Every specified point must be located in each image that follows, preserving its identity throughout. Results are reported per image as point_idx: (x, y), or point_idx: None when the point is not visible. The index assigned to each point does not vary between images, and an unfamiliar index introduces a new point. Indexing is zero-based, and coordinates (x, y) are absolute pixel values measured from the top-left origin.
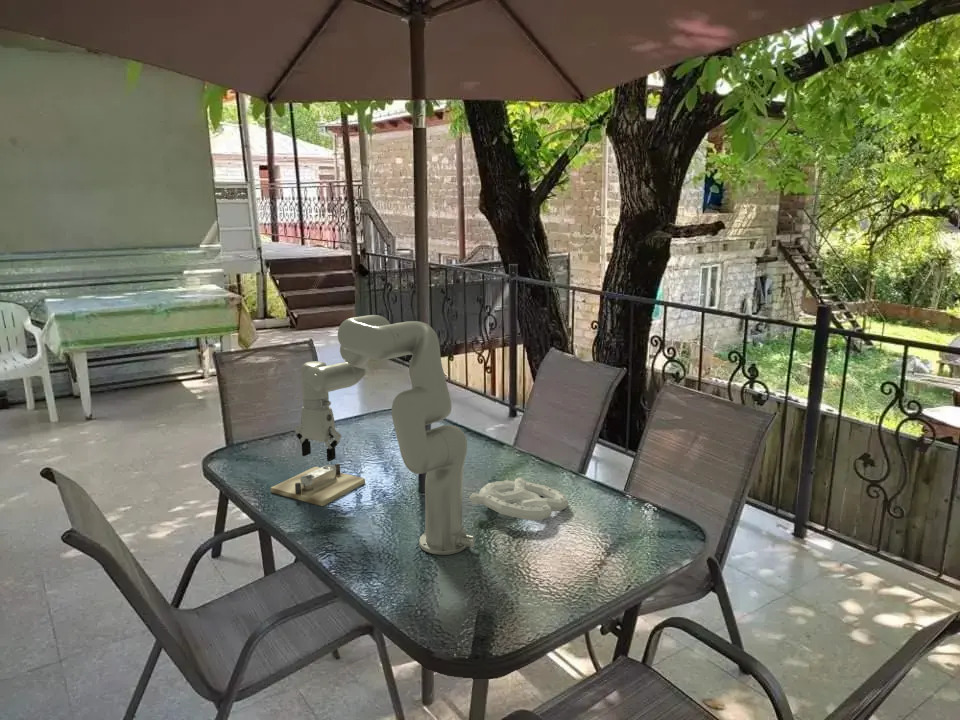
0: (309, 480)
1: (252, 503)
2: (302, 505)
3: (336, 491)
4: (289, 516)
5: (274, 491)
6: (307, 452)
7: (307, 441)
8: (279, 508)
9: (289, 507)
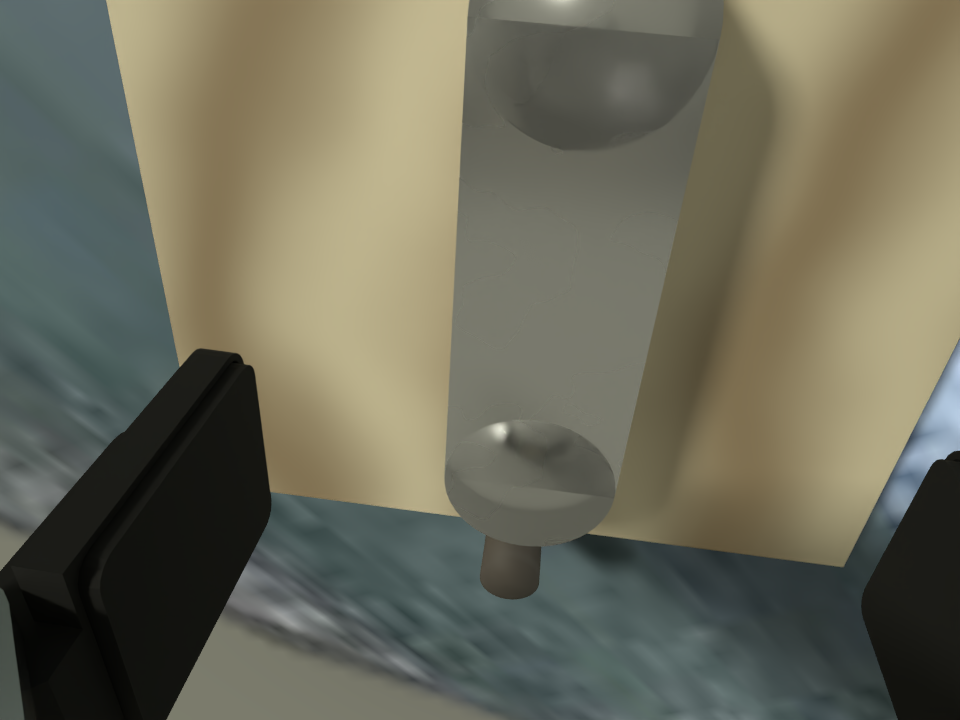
0: (594, 521)
1: (280, 617)
2: (645, 556)
3: (902, 353)
4: (658, 687)
5: None
6: (242, 473)
7: (77, 669)
8: (510, 627)
9: (568, 601)
